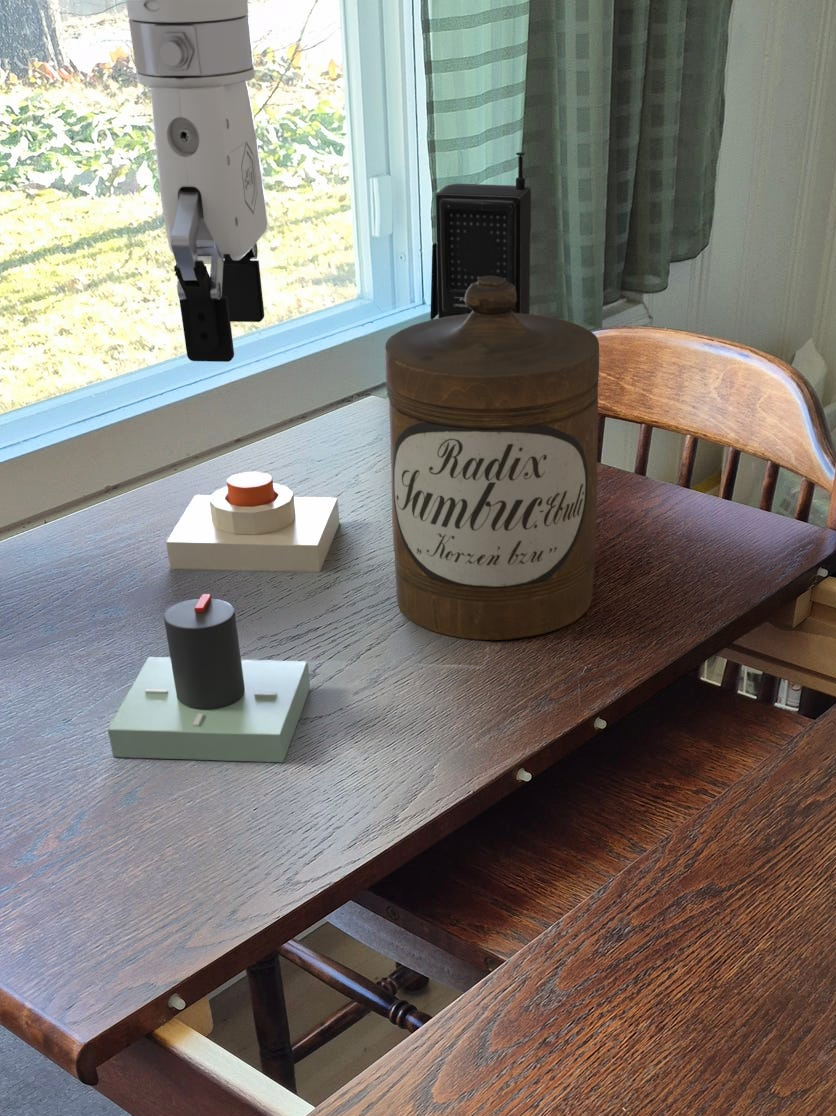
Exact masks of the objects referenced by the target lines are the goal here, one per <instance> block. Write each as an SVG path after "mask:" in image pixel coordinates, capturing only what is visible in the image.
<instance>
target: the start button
mask: <svg viewBox="0 0 836 1116" xmlns="http://www.w3.org/2000/svg"><path fill="white" fill-rule="evenodd" d="M273 483H274V479H273V476H272V475H271V474H269V473H267V472H263V471H252V470H251V471H242V472H238V473H235V474H232V475H230V476H229V477H228V478H227V479H226V486H227V488H228V496H229V503H230V504H232V505H235V506H239V507H255V506H260V505H266V504H268V503H271V502H273V501H275V497H274V487H273Z"/></svg>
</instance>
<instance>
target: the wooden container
mask: <svg viewBox="0 0 836 1116" xmlns="http://www.w3.org/2000/svg"><path fill="white" fill-rule="evenodd" d="M516 301H517V294H516V289H515V287H514V285H513V284H511V283H509V282H506V280H505V279H504V278H501V277H497V276H483V277H480V278H479V279H478V281H477V282H475V283H473V284H471V285H470V287H469V288H468V289H467V291H466V294H465V303H466V305H467V306H468V307H469V308H470V309H471V310H472V312H471V313H470V314H462V315H454V316H448V317H442V318H439V317H438V318H434V319H433V320H431V319H429V320H426V321H422V322H417V323H415V324H413V325H409V326H408V327H405V328H403V329H400V330H399V331H397V332H395V333H394V334H392V335H391V336H390V337H389V338H388V339H386V342H385V346H384V375H385V376H384V377H385V385H386V388H385V389H386V396H387V398H388V413H389V414H388V415H389V445H390V446H389V447H390V449H389V450H390V478H391V479H390V490H391V491H390V492H391V495H390V497H391V520H392V521H391V522H392V526H391V527H392V545H393V546H392V548H393V552H394V573H395V574H394V576H395V591H396V603H397V605H398V608H399V610H400V611H401V612H402V613H403V615H404V616H405V617H406V618H407V619H409V620H410V621H412V622H413V623H414V624H417V625H418V626H420V627H423V628H424V629H427V630H429V631H432V632H435V633H437V634H442V635H446V636H449V637H454V638H455V637H456V638H460V639H468V640H479V641H484V640H485V641H505V640H506V641H507V640H517V639H524V638H525V639H526V638H530V637H531V638H532V637H536V636H539V635H543V634H547V633H550V632H553V631H556V630H559V629H561V628H564V627H566V626H569V625H570V624H572V623H574V622H575V621H577V620H578V619H580V618H581V617H582V616H583V615H584V614H585V613H586V612H587V611H588V610H589V608H590V607H591V603H592V601H593V595H594V578H595V575H594V574H595V552H596V551H595V550H596V539H597V538H596V537H597V515H598V514H597V511H598V506H597V505H598V439H599V430H598V429H599V393H598V392H599V376H600V342H599V339H598V337H597V335H596V334H594V333H593V332H592V331H591V330H589V329H587V328H585V327H584V326H581V325H579V324H577V323H574V322H571V321H568V320H566V319H561V318H557V317H556V318H555V317H551V316H546V315H540V314H531V313H529V314H521V313H514V312H513V311H512V309H513V308H514V306H515V303H516Z"/></svg>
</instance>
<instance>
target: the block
mask: <svg viewBox="0 0 836 1116" xmlns="http://www.w3.org/2000/svg"><path fill="white" fill-rule="evenodd" d="M273 487H274V497H275V501H273V502H271V503H268V504H266V505H260V506H255V507H239V506H235V505H232V504H230V503H229V496H228V488H227V485H226V486H224V487H222V488H220V489H217V490H215V491H214V492H213V493H212V494H194V496H193V498H192V499H191V500H190V503H189V504H188V506H187V508H186V509H185V511H184V513H183V514H182V515H181V517H180V519H179V520H178V522H177V523H176V525H175V527H174V528H173V530H172V532H171V533H170V535H169V537H168V538H167V540H166V541H165V545H166V546H165V547H166V552H167V559H168V564H169V569H170V570H206V571H207V570H211V571H213V570H214V571H250V572H252V571H253V572H257V571H258V572H293V573H295V572H298V573H299V572H300V573H321V571H322V568H323V566H324V563H325V560H326V559H327V556H328V553H329V551H330V548H331V546H332V544H333V541H334V538H335V536H336V533H337V530H338V528H339V526H340V523H341V522H340V512H339V511H340V510H339V499H338V497H323V496H322V497H320V496H319V497H318V496H317V497H316V496H308V497H307V496H295V493H294V492H293V491H292V490H291V489H290V488H289V487H288V486H286V485H283V484H278V483H274V482H273Z"/></svg>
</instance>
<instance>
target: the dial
mask: <svg viewBox="0 0 836 1116" xmlns="http://www.w3.org/2000/svg"><path fill="white" fill-rule="evenodd" d="M163 620H164V627H165V628H164V629H165V634H166V640H167V645H168V652H169V658H171V664H172V671H173V677H174V683H175V689H176V695H177V698H178V700H179V701H180V702H181V703H182V704H184V705H186V706H188V707H192V708H197V709H214V708H220V707H224V706H228V705H230V704H233V703H235V702H236V701H238V700H239V699H240V698H241V697H242V696H243V695H244V692H245V686H244V678H243V671H242V663H241V660H242V656H241V650H240V641H239V632H238V627H237V626H238V624H237V617H236V611H235V608H234V606H232V605H231V604H230V603H229V602H227V601H224V600H221V599H216V598H212V594H211V593H202V594H201V596H200V598H192V599H187V600H184V601H180V602H178V603H175V604H173V605H172V606H170V607H168V608H167V609H166V611H164V614H163Z"/></svg>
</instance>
